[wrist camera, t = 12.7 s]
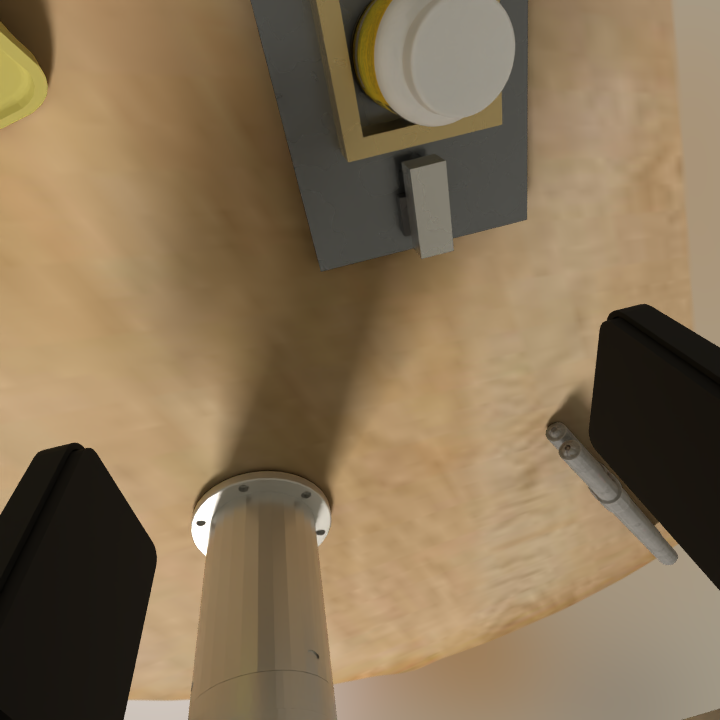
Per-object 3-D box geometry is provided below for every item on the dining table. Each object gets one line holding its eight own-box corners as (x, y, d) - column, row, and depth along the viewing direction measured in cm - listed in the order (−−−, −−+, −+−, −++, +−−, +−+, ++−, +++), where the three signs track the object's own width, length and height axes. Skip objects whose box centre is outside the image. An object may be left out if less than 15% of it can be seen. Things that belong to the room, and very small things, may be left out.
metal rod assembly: (656, 522, 58) (686, 559, 54) (635, 534, 58) (663, 572, 54) (559, 411, 45) (589, 448, 41) (534, 428, 45) (561, 467, 41)
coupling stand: (516, 213, 33) (549, 234, 29) (318, 263, 33) (325, 291, 29) (513, -287, 21) (567, -359, 17) (194, -218, 20) (178, -276, 17)
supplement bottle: (350, 112, 27) (389, 141, 19) (346, -11, 24) (390, -41, 16) (445, 107, 27) (522, 134, 19) (453, -13, 24) (547, -42, 16)
